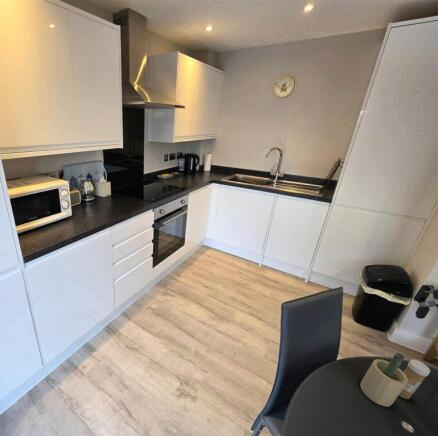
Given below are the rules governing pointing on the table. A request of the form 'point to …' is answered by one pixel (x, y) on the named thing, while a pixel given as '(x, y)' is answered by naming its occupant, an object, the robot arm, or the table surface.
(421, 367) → the sprinkles bottle
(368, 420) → the table surface
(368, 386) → the jar
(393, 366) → the brush
